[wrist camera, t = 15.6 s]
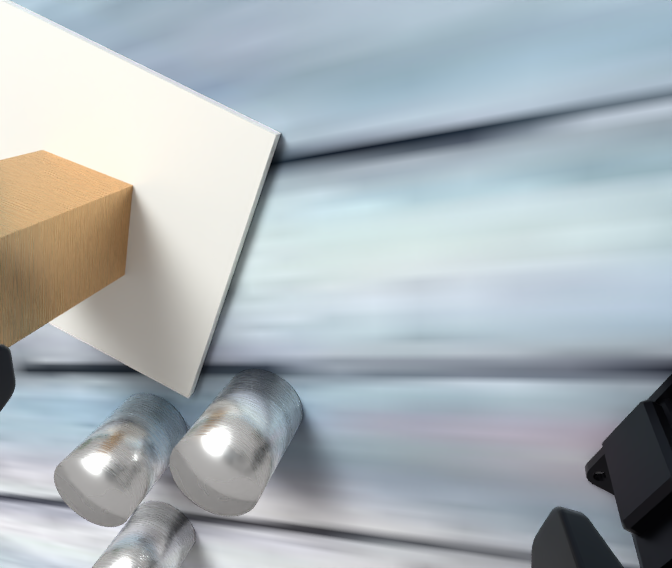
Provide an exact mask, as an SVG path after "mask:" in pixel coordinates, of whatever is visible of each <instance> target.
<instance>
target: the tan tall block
mask: <svg viewBox="0 0 672 568" xmlns="http://www.w3.org/2000/svg"><path fill="white" fill-rule="evenodd" d="M132 191H133V185H131V184H129V183H126V182H123V181H121V180H118V179H116V178H113V177H111V176H108V175H106V174H103V173H100V172H98V171H95V170H93V169H90V168H88V167H85V166H83V165H80V164H77V163H75V162H72V161H70V160H67V159H65V158H62V157H60V156H57V155H55V154H52V153H49V152H47V151H44V150H40V151H36V152H31V153H27V154H23V155H19V156H15V157H11V158H7V159H2V160H0V344H3V345H5V346H7V347H10V346H12V345H13V344H15V343H16V342H18V341H20V340H21V339H23V338H24V337H26V336H28V335H29V334H31V333H32V332H34V331H36V330H37V329H39V328H40V327H42V326H44V325H45V324H47V323H48V322H50V321H52V320H53V319H55V318H56V317H58V316H60V315H61V314H63V313H64V312H66V311H68V310H69V309H71V308H72V307H74V306H76V305H77V304H79V303H80V302H82V301H84V300H85V299H87V298H88V297H90V296H92V295H93V294H95V293H96V292H98V291H100V290H101V289H103V288H104V287H106V286H108V285H109V284H111V283H112V282H114V281H116V280H117V279H119V278H120V277H122V276H124V275H125V267H126V256H127V245H128V235H129V224H130V213H131V202H132Z"/></svg>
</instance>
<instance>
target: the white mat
mask: <svg viewBox="0 0 672 568" xmlns="http://www.w3.org/2000/svg"><path fill="white" fill-rule="evenodd" d="M280 134H281V133H280V132H278V131H276V130H274V129H272V128H270V127H268V126H266V125H264V124H261V123H259V122H257V121H255V120H253V119H251V118H249V117H247V116H245V115H243V114H241V113H239V112H237V111H235V110H233V109H231V108H229V107H227V106H225V105H223V104H221V103H219V102H217V101H214V100H212V99H210V98H208V97H206V96H204V95H202V94H200V93H198V92H196V91H194V90H192V89H190V88H188V87H186V86H184V85H182V84H180V83H178V82H176V81H174V80H172V79H170V78H168V77H165V76H163V75H161V74H159V73H157V72H155V71H153V70H151V69H149V68H147V67H145V66H143V65H141V64H139V63H137V62H135V61H133V60H131V59H129V58H127V57H125V56H123V55H121V54H118V53H116V52H114V51H112V50H110V49H108V48H106V47H104V46H102V45H100V44H98V43H96V42H94V41H92V40H90V39H88V38H86V37H84V36H82V35H80V34H78V33H76V32H74V31H71V30H69V29H67V28H65V27H63V26H61V25H59V24H57V23H55V22H53V21H51V20H49V19H47V18H45V17H43V16H41V15H39V14H37V13H35V12H33V11H31V10H29V9H27V8H25V7H22V6H20V5H18V4H16V3H14V2H12V1H10V0H0V160H2V159H7V158H11V157H15V156H19V155H23V154H27V153H31V152H36V151H40V150H44V151H47V152H49V153H52V154H55V155H57V156H60V157H62V158H65V159H67V160H70V161H72V162H75V163H77V164H80V165H83V166H85V167H88V168H90V169H93V170H95V171H98V172H100V173H103V174H106V175H108V176H111V177H113V178H116V179H118V180H121V181H123V182H126V183H129V184H131V185H133V191H132V202H131V213H130V224H129V235H128V245H127V256H126V267H125V275H124V276H122V277H120V278H119V279H117V280H116V281H114V282H112V283H111V284H109V285H108V286H106V287H104V288H103V289H101V290H100V291H98V292H96V293H95V294H93V295H92V296H90V297H88V298H87V299H85V300H84V301H82V302H80V303H79V304H77V305H76V306H74V307H72V308H71V309H69V310H68V311H66V312H64V313H63V314H61V315H60V316H58V317H56V318H55V319H53V320H52V321H50V322H48V323H49V324H51V325H53V326H55V327H56V328H58V329H60V330H62V331H64V332H66V333H68V334H69V335H71V336H73V337H75V338H77V339H79V340H81V341H82V342H84V343H86V344H88V345H90V346H92V347H94V348H95V349H97V350H99V351H101V352H103V353H105V354H107V355H108V356H110V357H112V358H114V359H116V360H118V361H120V362H121V363H123V364H125V365H127V366H129V367H131V368H133V369H135V370H136V371H138V372H140V373H142V374H144V375H146V376H148V377H149V378H151V379H153V380H155V381H157V382H159V383H161V384H162V385H164V386H166V387H168V388H170V389H172V390H174V391H175V392H177V393H179V394H181V395H183V396H185V397H187V398H189V397H190V396H191V395H192V394H193V393H194V390H195V387H196V384H197V381H198V378H199V375H200V372H201V369H202V366H203V363H204V360H205V357H206V354H207V351H208V348H209V345H210V342H211V339H212V336H213V333H214V330H215V328H216V325H217V322H218V319H219V316H220V313H221V310H222V307H223V304H224V301H225V298H226V295H227V292H228V289H229V286H230V283H231V280H232V277H233V274H234V271H235V268H236V265H237V262H238V259H239V256H240V253H241V250H242V247H243V244H244V241H245V238H246V235H247V232H248V229H249V226H250V223H251V220H252V217H253V215H254V212H255V209H256V206H257V203H258V200H259V197H260V194H261V191H262V188H263V185H264V182H265V179H266V176H267V173H268V170H269V167H270V164H271V161H272V158H273V155H274V152H275V149H276V146H277V143H278V140H279V137H280Z"/></svg>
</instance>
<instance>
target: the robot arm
mask: <svg viewBox="0 0 672 568" xmlns="http://www.w3.org/2000/svg"><path fill="white" fill-rule="evenodd" d="M14 389H15V375H14V369H13V363H12V356H11V352H10V349H9V348H8V347H7V346H5V345H3V344H0V411H1V410H2V409H3V407H4V406H5V405H6V403H7V402H8V401H9V399H10V398H11V396H12V394H13V392H14ZM602 445H603V447H602V448H601V449H600V450H599V451H598V452H597V454H596V455H595V456H594V457H593V458H592V459H591V460H590V461H589V462H588V463H587V465H586V466H585V471H586V476H587V479H588V481H589V482H591V483H592V484H594V485H596V486H598V487H600V488H602V489H604V490H605V491H607V492H609V493H611V494H613V495H615V498H616V503H617V507H618V511H619V515H620V519H621V523H622V526H623V528H624V529H625V530H627V531H629V532H631V533H632V537H633V541H634V545H635V548H636V552H637V556H638V560H639V564H640V568H672V374H671V376H670V377H669V378H668V379H667V380H666V381H665V382H664V383H663V384H662V385H661V386H660V387H659V388H658V389H657V390H656V391H655V392H654V393H653V395H652V396H651V397H650V398H649V399H648V400H645V401H642V402H640V403H639V405H638V406H637V407H636V408H635V409H634V410H633V411H632V412H631V413H630V414H629V415H628V416H627V417H626V418H625V419H624V420H623V421H622V423H621V424H620V425H619V426H618V427H617V428H616V429H615V430H614V431H613V432H612V433H611V434H610V435H609V436H608V437H607V438H606V440H605V441H604V442H603V444H602ZM597 471H601V472H604V473H602V474H596V473H595V472H597ZM531 568H624V567H623V566H622V565H621V563H620V562H619V560H618V559H617V558H616V556H615V555H614V554H613V552H612V551H611V549H610V548H609V547H608V545H607V544H606V542H605V541H604V540H603V538H602V537H601V536H600V534H599V533H598V531H597V530H596V529H595V527H594V526H593V524H592V523H591V522H590V520H589V519H588V518H587V517H586V516H585V515H584V514H582V513H580V512H577V511H574V510H570V509H567V508H564V507H555V508H554V509H553V510H552V511H551V512H550V514H549V516H548V517H547V519H546V520H545V522H544V524H543V525H542V527H541V528H540V530H539V532H538V533H537V535H536V537H535V539H534V541H533V545H532V554H531Z"/></svg>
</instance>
